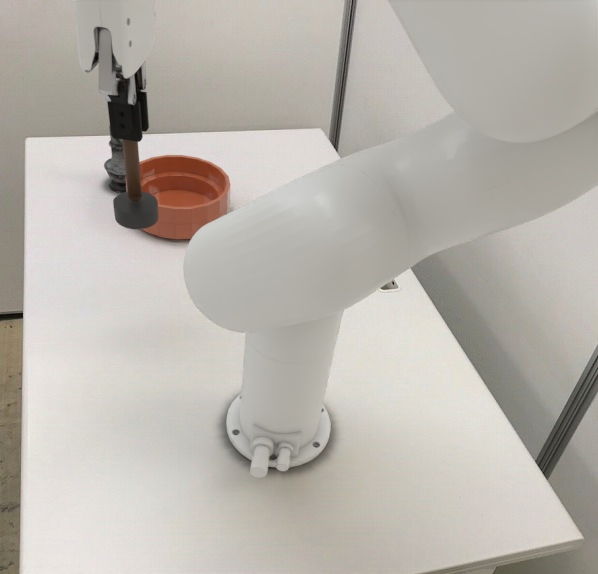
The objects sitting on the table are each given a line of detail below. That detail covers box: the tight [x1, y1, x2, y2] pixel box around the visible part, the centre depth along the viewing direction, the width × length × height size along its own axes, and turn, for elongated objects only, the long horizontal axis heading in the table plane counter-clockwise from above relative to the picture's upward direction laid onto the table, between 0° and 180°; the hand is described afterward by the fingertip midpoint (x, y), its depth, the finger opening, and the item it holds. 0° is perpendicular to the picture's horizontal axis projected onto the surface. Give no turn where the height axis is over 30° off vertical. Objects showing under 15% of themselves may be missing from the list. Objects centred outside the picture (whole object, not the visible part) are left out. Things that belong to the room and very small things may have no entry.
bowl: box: [126, 154, 231, 240], centre depth 104 cm, size 16×16×6 cm
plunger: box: [112, 79, 159, 230], centre depth 70 cm, size 5×5×16 cm
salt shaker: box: [103, 124, 127, 194], centre depth 105 cm, size 6×6×12 cm
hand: (130, 132), depth 68 cm, fingers closed on plunger
